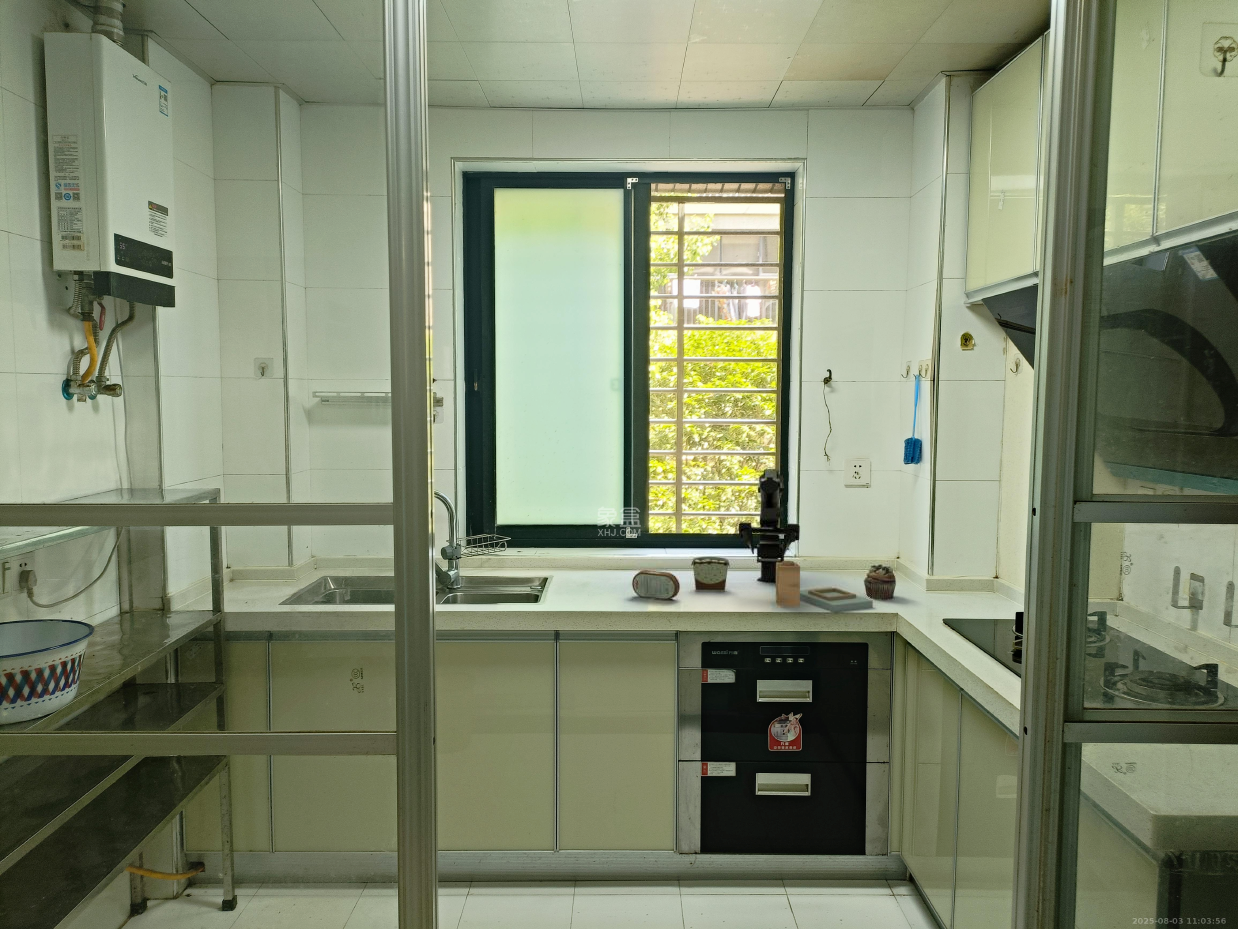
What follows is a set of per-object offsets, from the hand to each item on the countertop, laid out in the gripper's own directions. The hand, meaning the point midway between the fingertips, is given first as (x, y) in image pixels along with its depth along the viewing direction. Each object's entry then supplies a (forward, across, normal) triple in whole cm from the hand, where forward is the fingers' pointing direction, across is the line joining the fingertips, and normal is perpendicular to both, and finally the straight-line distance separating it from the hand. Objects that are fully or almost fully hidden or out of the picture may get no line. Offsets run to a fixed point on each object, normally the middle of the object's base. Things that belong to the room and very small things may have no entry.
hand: (768, 554), depth 254 cm
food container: (+4, -18, +16) cm, 25 cm away
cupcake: (+4, +34, +16) cm, 38 cm away
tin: (+15, -34, +4) cm, 37 cm away
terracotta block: (+15, +6, +4) cm, 16 cm away
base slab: (+11, +19, +8) cm, 23 cm away
